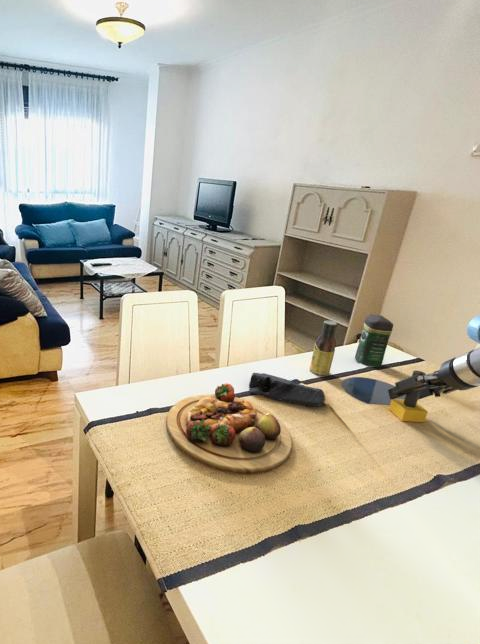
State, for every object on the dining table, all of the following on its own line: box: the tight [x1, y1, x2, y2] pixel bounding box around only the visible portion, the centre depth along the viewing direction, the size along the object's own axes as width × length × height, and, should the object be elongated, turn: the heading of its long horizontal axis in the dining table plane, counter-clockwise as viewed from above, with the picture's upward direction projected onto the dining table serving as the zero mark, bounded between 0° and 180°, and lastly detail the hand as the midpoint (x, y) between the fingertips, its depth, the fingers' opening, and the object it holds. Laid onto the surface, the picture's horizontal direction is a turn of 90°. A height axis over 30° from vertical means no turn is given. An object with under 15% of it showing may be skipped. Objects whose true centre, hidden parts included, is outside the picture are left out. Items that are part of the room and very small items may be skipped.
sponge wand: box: [388, 370, 428, 423], centre depth 106 cm, size 6×6×14 cm
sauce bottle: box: [309, 320, 338, 377], centre depth 131 cm, size 6×6×20 cm
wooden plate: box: [165, 382, 293, 475], centre depth 100 cm, size 32×32×8 cm
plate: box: [340, 376, 406, 406], centre depth 122 cm, size 20×20×1 cm
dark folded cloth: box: [248, 372, 326, 407], centre depth 121 cm, size 15×22×5 cm
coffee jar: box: [354, 313, 394, 368], centre depth 141 cm, size 10×8×19 cm
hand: (402, 395), depth 110 cm, fingers closed on sponge wand, 6 cm apart
